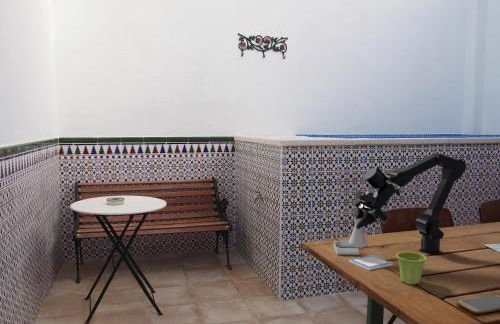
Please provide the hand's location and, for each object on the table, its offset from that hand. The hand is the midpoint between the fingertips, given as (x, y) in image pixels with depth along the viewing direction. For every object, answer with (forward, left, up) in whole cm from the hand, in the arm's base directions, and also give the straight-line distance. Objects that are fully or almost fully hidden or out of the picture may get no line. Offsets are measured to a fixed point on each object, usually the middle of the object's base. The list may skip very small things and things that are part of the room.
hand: (355, 227), depth 178 cm
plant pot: (-28, 0, -12) cm, 31 cm away
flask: (0, -1, -7) cm, 7 cm away
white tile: (-8, -1, -12) cm, 14 cm away
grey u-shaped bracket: (+9, -4, -12) cm, 16 cm away
